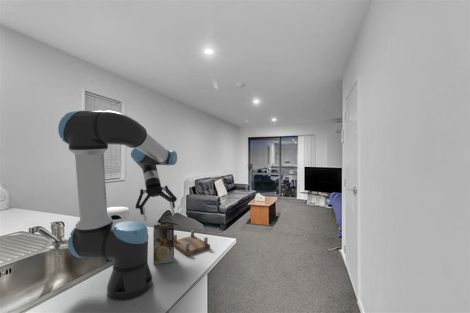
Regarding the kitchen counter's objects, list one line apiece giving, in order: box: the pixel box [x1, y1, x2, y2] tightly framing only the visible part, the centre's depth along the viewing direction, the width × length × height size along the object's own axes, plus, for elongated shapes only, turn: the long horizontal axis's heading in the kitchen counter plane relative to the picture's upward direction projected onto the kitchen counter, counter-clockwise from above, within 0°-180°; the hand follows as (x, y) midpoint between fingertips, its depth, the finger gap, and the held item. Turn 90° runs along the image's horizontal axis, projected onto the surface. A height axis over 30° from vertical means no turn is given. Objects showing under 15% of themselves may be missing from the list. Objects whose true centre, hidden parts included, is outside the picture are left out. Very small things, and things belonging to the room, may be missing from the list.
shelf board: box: [174, 230, 211, 257], centre depth 118 cm, size 14×17×6 cm
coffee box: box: [152, 223, 175, 265], centre depth 102 cm, size 9×6×16 cm
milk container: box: [107, 206, 130, 226], centre depth 122 cm, size 17×17×18 cm
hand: (160, 217), depth 109 cm, fingers open, 13 cm apart
